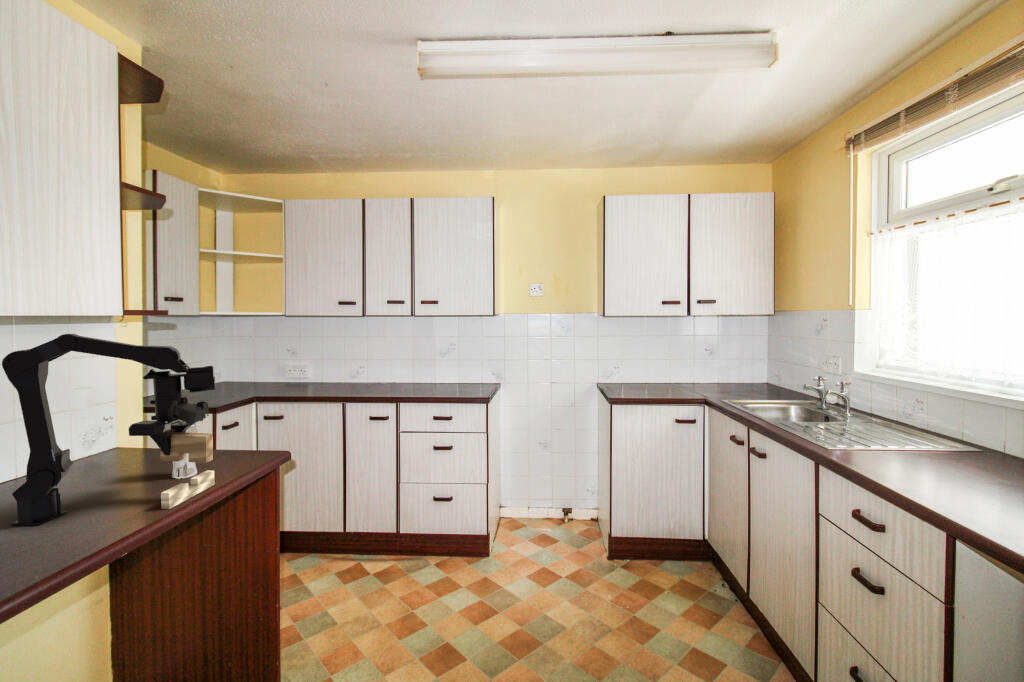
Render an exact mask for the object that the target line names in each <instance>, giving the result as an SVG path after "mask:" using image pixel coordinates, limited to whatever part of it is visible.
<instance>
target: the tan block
mask: <svg viewBox="0 0 1024 682" xmlns="http://www.w3.org/2000/svg"><path fill="white" fill-rule="evenodd" d="M213 436H214V435H213V433H202V432H197V433H187V432H174V433H173V434H172V435H171V452H170V455H169V456H166V455H164V453H163V452H162V451H161V449H160V448H159V449H160V450H159V451H160V461H161V462H163V461H164V462H173V461H177V462H178V461H180V460H183V459H185V453H189V462H195V464H196V463H197V464H198V463H199V464H207V463H209V462H211V461H213V460H214V456H213V455H214V445H213V443H214V440H213V439H214V437H213Z"/></svg>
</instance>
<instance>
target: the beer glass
mask: <svg viewBox="0 0 1024 682" xmlns="http://www.w3.org/2000/svg"><path fill="white" fill-rule="evenodd" d="M186 432H187V433H198V428H197V422H196V423H194V424H193V425H192V426H190V427H189V428H188V429H187V430H186ZM197 475H198V469H197V465H196V462H189V453H185V459H183V460H180V461H178V462H177V461H172V473H171V478H172V479H174V478H175V480H180V479H181V478H182V479H187V478H192V477H195V476H197Z"/></svg>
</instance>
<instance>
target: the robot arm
mask: <svg viewBox="0 0 1024 682" xmlns="http://www.w3.org/2000/svg"><path fill="white" fill-rule="evenodd" d="M70 352H74V353H75V352H78V353H82V354H88V355H89V354H90V355H97V356H102V357H107V358H108V357H110V358H117V359H123V360H130V361H133V362H137V363H139V364H142V365H145V366H147V367H151V368H150V369H149V371H147V374H145V375H144V376H142V379H143V380H152V383H153V384H152V385H153V394H154V395H153V396H154V398H153V399H150V400H149V403H150V404H149V405H154V410H155V411H154V413H155V414H154V415H151V416H150V420H142V421H138V422H134V423H132V424H130V425H129V427H128V436H129V437H142V436H143V437H150V438H151V440H153V442H154V443H155V444H156V445H157V447H158V448H159V449H161V451H162V452H163V453H164V455H166V456H169V455H170V452H171V435H172V434H173V433H174V432H186V430H187V429H188V428H189V427H190V426H192V425H193V424H194V423H196V424H197V423H198V422H203V421H204V420H205V419H206V417H207V414H210V411H209V409H210V407H209V403H208V401H204V400H200V401H198V402H197V403H189V401H188V398H187V396H183V389H182V388H183V387H184V390H187V391H189V393H191V394H192V393H203V392H212V391H213V392H214V391H216V376H215V375H214V373H215V372H214V366H213V365H207V366H199V367H198V366H197V367H191V366H189V365H188V363H186V362H185V361H184V360H183V359H182V358H181V352H180V351H179V350H178V349H177V348H176V347H173V346H171V345H140V344H139V345H136V344H132V343H124V342H120V341H119V342H118V341H113V340H106V339H102V338H94V337H89V336H83V335H79V334H77V333H65V334H61V335H59V336H57V337H56V338H53V339H51V340H49V341H47V342H45V343H42V344H40V345H37V346H34V347H32V348H27V349H21V350H15V351H12V352H10V353H8V354H7V355H5V356H4V357H3V359H2V361H1V366H2V369H3V372H4V373H5V375H6V377H7V379H8V382H10V383H11V385H12V386H13V387H14V389H15V390H16V392H17V393H18V399H19V403H20V408H21V414H22V419H23V422H24V423H23V425H24V428H25V432H26V436H27V442H28V447H29V455H28V460H27V464H26V481H25V482H24V483H23V484H21V485H20V486H19V487H18V488H17V489H16V490H14V491H13V492H12V494H11V495H12V497H13V498H14V500H15V502H16V509H17V510H16V513H17V515H16V516H17V520H15V521H11V522H10V523H11V525H12V526H40V525H42V524H44V523H47V522H49V521H51V520H53V519H55V518H59V517H60V516H62V515H65V514H67V510H62V504H61V501H62V500H61V493H59V491H60V490H59V487H57V486H58V485H59V483H60V482H61V481H62V480H63V479H64V478H65V477H66V476H67V475H68V474H69V472H70V468H71V467H72V466H73V465H74V463H73V462H72V460H71V458H70V457H71V451H70V448H67V449H64V450H62V449H61V448H60V446H59V445H58V443H57V440H56V434H55V431H54V426H53V425H54V424H53V419H52V415H51V409H50V404H49V401H48V399H49V398H48V396H47V395H48V394H47V391H46V390H47V389H46V384H47V380H48V375H49V363H50V362H52V361H54V360H56V359H59V358H60V357H62V356H65V355H66V354H68V353H70ZM154 368H155V369H158V370H160V371H156V370H155V369H154ZM171 371H172V372H175V373H171ZM182 377H183V387H182Z"/></svg>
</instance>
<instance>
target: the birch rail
mask: <svg viewBox="0 0 1024 682" xmlns="http://www.w3.org/2000/svg"><path fill="white" fill-rule="evenodd" d="M215 480H216V479H215V470H208V469H207V470H205V471H203V472H201V473H199V474H196V475H194V476H192V477H190V485H189V482H186V483H183V482H182V483H181V482H180V483H178V484H177V485H175V486H173V487H170V488H168V489H166V490H164V491H162V492H161V493H160V500H161V501H160V503H161V510H170V509H173V508H174V507H175V506H178V505H180V504H181V503H183V502H185V501H187V500H189V499H190V498H193V497H194V496H196V495H197V494H200V493H202V492H204V491H206V490H208V488H211V487H212V486H214V485H216V482H215Z"/></svg>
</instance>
